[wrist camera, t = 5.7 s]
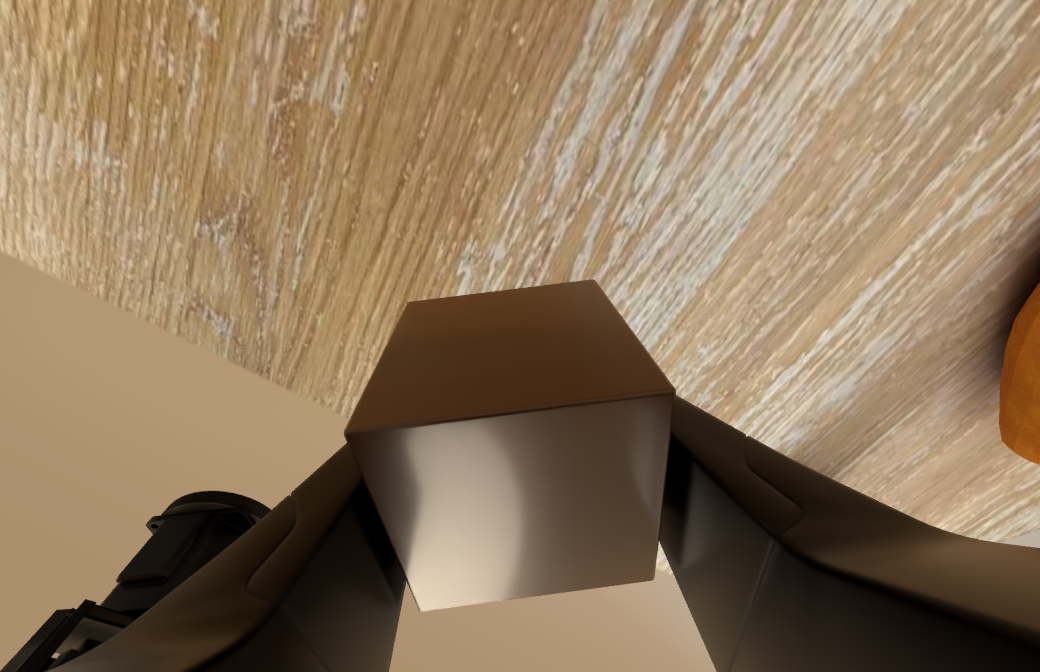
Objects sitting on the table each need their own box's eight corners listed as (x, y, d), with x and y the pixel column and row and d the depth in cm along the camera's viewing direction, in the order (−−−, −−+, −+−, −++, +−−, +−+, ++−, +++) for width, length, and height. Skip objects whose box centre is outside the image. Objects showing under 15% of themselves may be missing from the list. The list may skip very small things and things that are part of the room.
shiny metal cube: (595, 423, 11) (654, 581, 7) (444, 442, 11) (418, 613, 7) (594, 278, 9) (678, 390, 5) (407, 301, 9) (340, 433, 5)
